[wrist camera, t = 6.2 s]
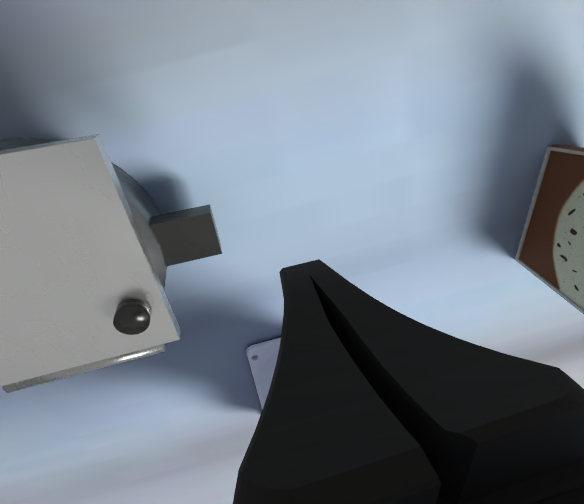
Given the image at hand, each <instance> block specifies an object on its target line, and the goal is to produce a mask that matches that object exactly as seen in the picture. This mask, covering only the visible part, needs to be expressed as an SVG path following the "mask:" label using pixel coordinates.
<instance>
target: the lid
mask: <svg viewBox="0 0 584 504" xmlns="http://www.w3.org/2000/svg"><path fill="white" fill-rule="evenodd" d="M176 340H180V327H179V325H178V322H177V320H176V318H175V315H174V313H173V310H172V308H171V306H170V303H169V301H168V298H167V296H166V293H165V291H164V289H163V286H162V284H161V281H160V279H159V277H158V274H157V272H156V269H155V267H154V264H153V262H152V260H151V257H150V255H149V252H148V250H147V248H146V245H145V243H144V240H143V238H142V235H141V233H140V231H139V228H138V226H137V223H136V221H135V219H134V216H133V214H132V211H131V209H130V206H129V204H128V202H127V199H126V197H125V194H124V192H123V190H122V187H121V185H120V182H119V180H118V178H117V175H116V173H115V170H114V168H113V165H112V163H111V161H110V158H109V156H108V153H107V151H106V149H105V146H104V144H103V141H102V139H101V136H100V134H97V135H91V136H85V137H79V138H73V139H67V140H61V141H55V142H49V143H43V144H37V145H31V146H25V147H19V148H13V149H7V150H1V151H0V386H3V389H4V391H5V392H7V393H9V392H13V391H17V390H21V389H25V388H28V387H32V386H36V385H40V384H43V383H47V382H51V381H55V380H59V379H62V378H66V377H70V376H74V375H78V374H81V373H85V372H89V371H93V370H96V369H100V368H104V367H108V366H112V365H115V364H119V363H123V362H127V361H131V360H134V359H138V358H142V357H146V356H150V355H153V354H157V353H161V352H165V351H166V343H169V342H173V341H176Z"/></svg>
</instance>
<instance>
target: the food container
mask: <svg viewBox="0 0 584 504" xmlns="http://www.w3.org/2000/svg"><path fill="white" fill-rule="evenodd" d="M515 260H516V261H517V262H518V263H520V264H521V265H522V266H523V267H525V268H526V269H527V270H528V271H530V272H531V273H532V274H534V275H535V276H536V277H537V278H539V279H540V280H541V281H542V282H544V283H545V284H546V285H547V286H549V287H550V288H551V289H553V290H554V291H555V292H556V293H558V294H559V295H560V296H561V297H563V298H564V299H565V300H566V301H568V302H569V303H570V304H571V305H573V306H574V307H575V308H577V309H578V310H579V311H580V312H582V313H583V314H584V148H581V147H574V146H567V145H552V146H547V149H546V153H545V156H544V160H543V163H542V166H541V170H540V173H539V177H538V180H537V184H536V187H535V191H534V194H533V198H532V201H531V205H530V208H529V211H528V215H527V218H526V222H525V225H524V229H523V232H522V236H521V239H520V243H519V246H518V250H517V253H516V256H515Z"/></svg>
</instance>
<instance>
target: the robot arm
mask: <svg viewBox="0 0 584 504" xmlns="http://www.w3.org/2000/svg"><path fill="white" fill-rule="evenodd" d="M280 278H281V284H282V290H283V296H284V316H283V326H282V335H281V338H277V339H273V340H270V341H266V342H262V343H258V344H255V345H251V346H249V347H248V348H247V356H248V360H249V363H250V367H251V371H252V374H253V378H254V381H255V385H256V389H257V392H258V396H259V399H260V403H261V407H262V413H261V416H260V419H259V422H258V424H257V427H256V430H255V432H254V435H253V437H252V439H251V442H250V444H249V447H248V449H247V451H246V454H245V456H244V459H243V461H242V463H241V466H240V468H239V471H238V478H237V483H236V489H235V494H234V501H233V504H584V389H583V388H582V387H581V386H580V385H578V384H577V383H576V382H575V381H574V380H573V379H571V378H570V377H569V376H568V375H567V374H566V373H564V372H563V371H562V370H561V369H559V368H557V367H553V366H549V365H545V364H542V363H538V362H534V361H530V360H526V359H522V358H518V357H515V356H511V355H507V354H504V353H500V352H497V351H494V350H491V349H488V348H485V347H482V346H478V345H475V344H472V343H470V342H467V341H464V340H461V339H458V338H456V337H453V336H451V335H448V334H446V333H443V332H441V331H438V330H436V329H433V328H431V327H428V326H426V325H424V324H422V323H419V322H417V321H415V320H413V319H411V318H409V317H407V316H405V315H403V314H401V313H399V312H397V311H395V310H393V309H392V308H390V307H388V306H386V305H385V304H383V303H381V302H379V301H378V300H376V299H374V298H373V297H371V296H370V295H368V294H367V293H365V292H364V291H362V290H361V289H359V288H358V287H356V286H355V285H353V284H352V283H350V282H349V281H348V280H346V279H345V278H343V277H342V276H341V275H339V274H338V273H337V272H335V271H334V270H333V269H331V268H330V267H329V266H327V265H326V264H325V263H323V262H322V261H321V260H315V261H311V262H306V263H302V264H298V265H294V266H290V267H286V268H282V270H281V271H280ZM254 355H256V356H254Z"/></svg>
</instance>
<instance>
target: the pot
mask: <svg viewBox="0 0 584 504" xmlns="http://www.w3.org/2000/svg"><path fill="white" fill-rule="evenodd" d="M49 142H55V141H49V140H41V139H10V140H1V141H0V151H1V150H7V149H13V148H19V147H25V146H31V145H37V144H43V143H49ZM112 165H113V168H114V170H115V173H116V175H117V178H118V180H119V182H120V185H121V187H122V190H123V192H124V194H125V197H126V199H127V202H128V204H129V206H130V209H131V211H132V214H133V216H134V219H135V221H136V223H137V226H138V228H139V231H140V233H141V235H142V238H143V240H144V243H145V245H146V248H147V250H148V252H149V255H150V257H151V260H152V262H153V264H154V267H155V269H156V272H157V274H158V277H159V279H160V281H161V284H162V286H163V289H164V285H165V277H166V269H167V266H170V265H174V264H178V263H183V262H187V261H191V260H196V259H200V258H205V257H209V256H213V255H218V254H222V251H221V244H220V240H219V237H218V233H217V229H216V225H215V222H214V218H213V214H212V211H211V207H210V205H206V206H201V207H196V208H191V209H186V210H181V211H176V212H172V213H167V214H162V215H161V214H160V211H159V210H158V208H157V206H156V205H155V203H154V201H153V200H152V198H151V197H150V196H149V195H148V194H147V192H146V191H145V190H144V189H143V188H142V187H141V186H140V185H139V184H138V183H137V182H136V181H135V180H134V179H133V178H132V177H131V176H130V175H128V174H127V173H126V172H124V171H123V170H122V169H121V168H119V167H117V166H116V165H114V164H113V163H112Z"/></svg>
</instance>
